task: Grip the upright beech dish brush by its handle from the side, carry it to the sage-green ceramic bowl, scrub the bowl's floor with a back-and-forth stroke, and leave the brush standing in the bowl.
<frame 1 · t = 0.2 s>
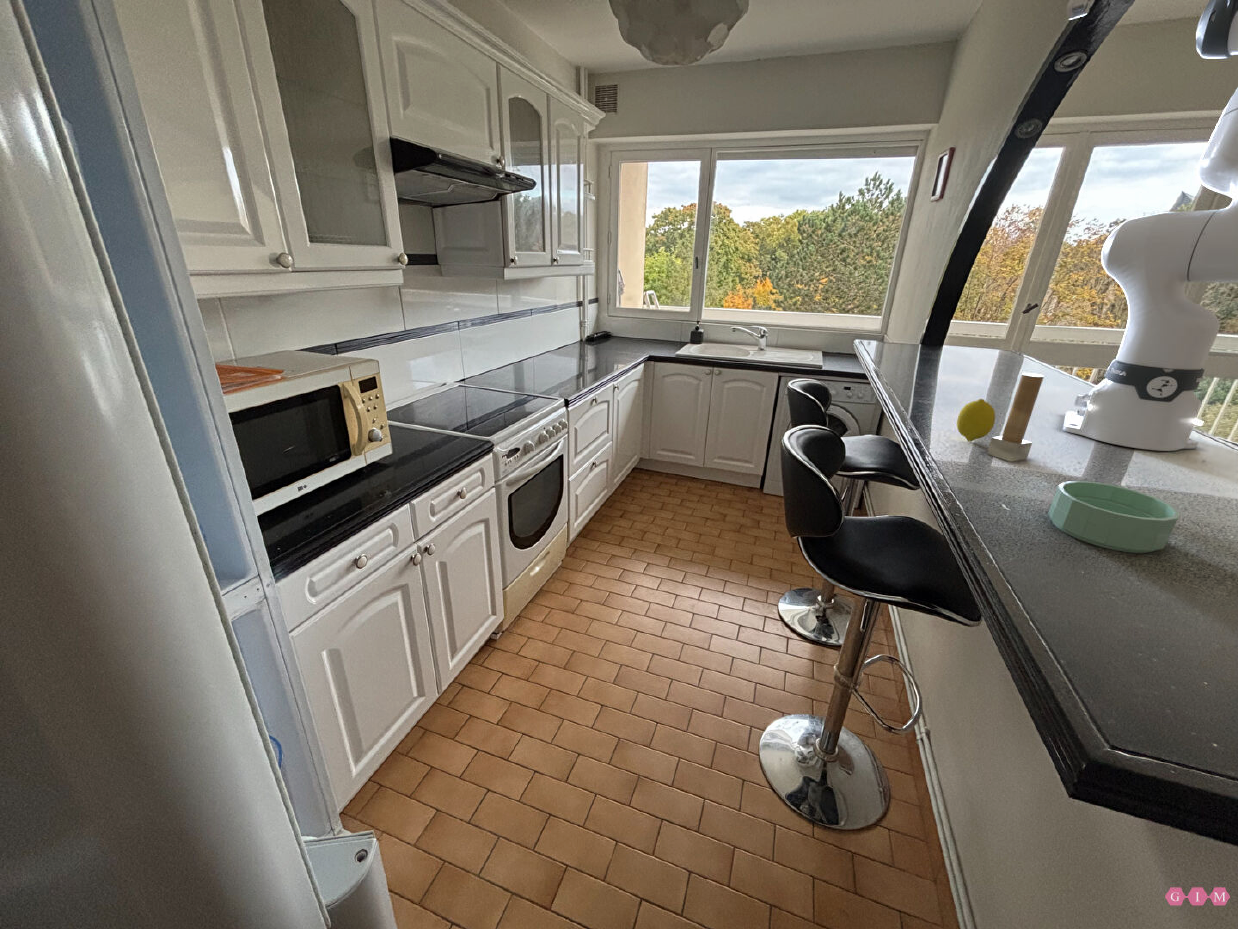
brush: (1006, 456, 86), on the countertop
bowl: (1102, 532, 62), on the countertop
lemon: (969, 442, 93), on the countertop
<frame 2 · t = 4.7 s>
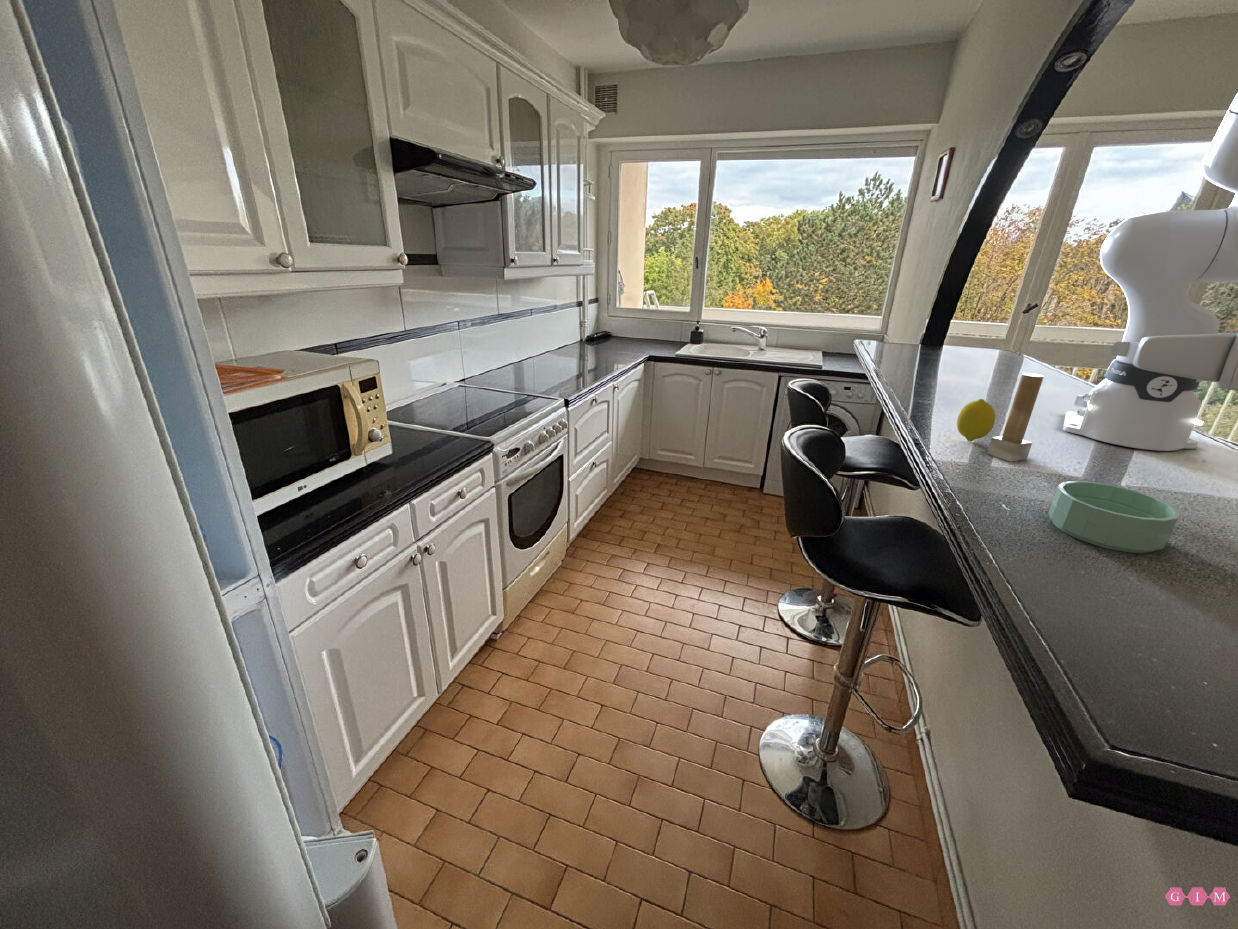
hand: (1140, 347, 68), 20 cm above the countertop, tool horizontal, fingers open, 8 cm apart
nothing on the countertop moved.
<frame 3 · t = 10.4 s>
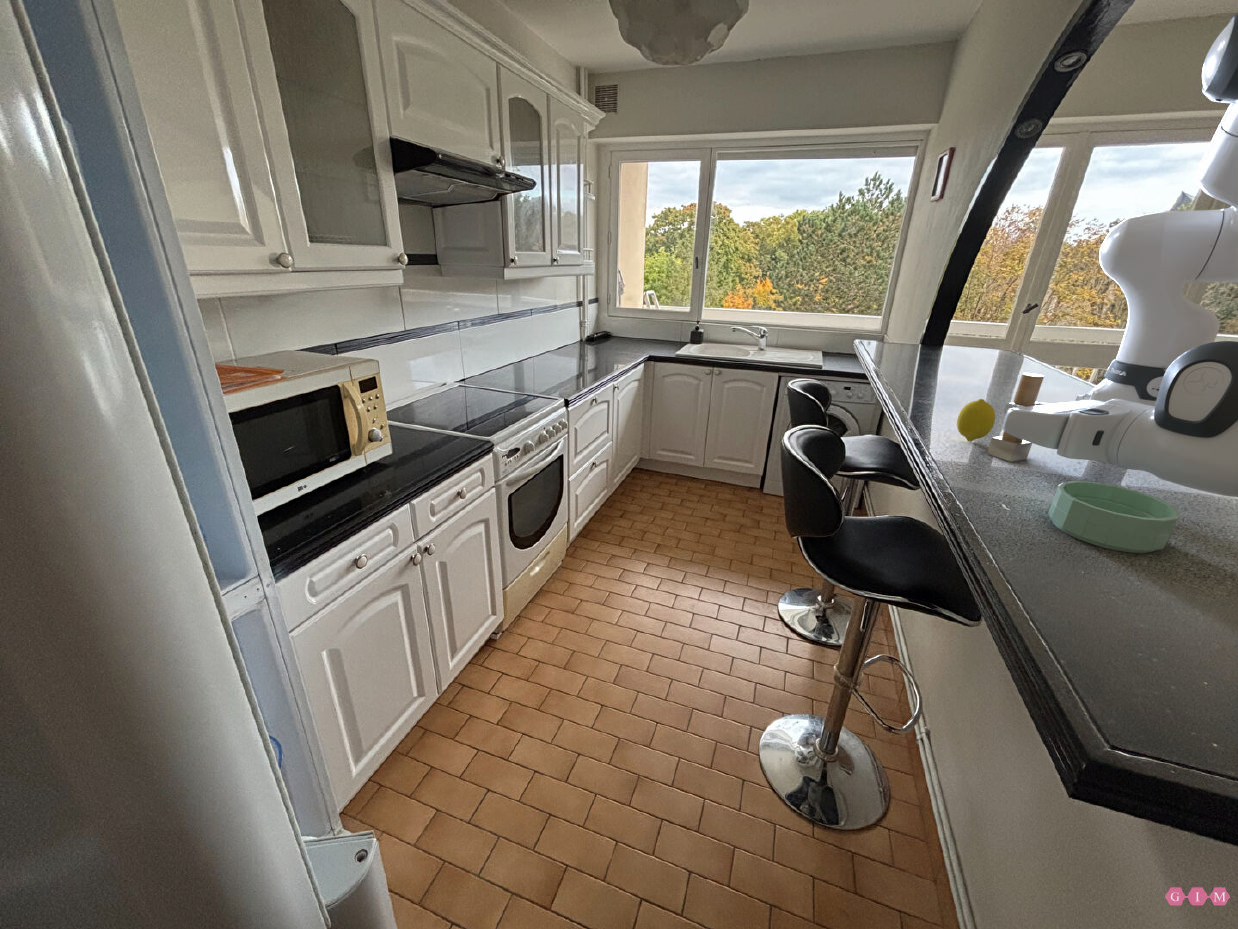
hand: (1016, 406, 84), 9 cm above the countertop, tool horizontal, fingers closed on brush, 3 cm apart
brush: (1006, 456, 86), on the countertop, touching gripper
everything else where it was.
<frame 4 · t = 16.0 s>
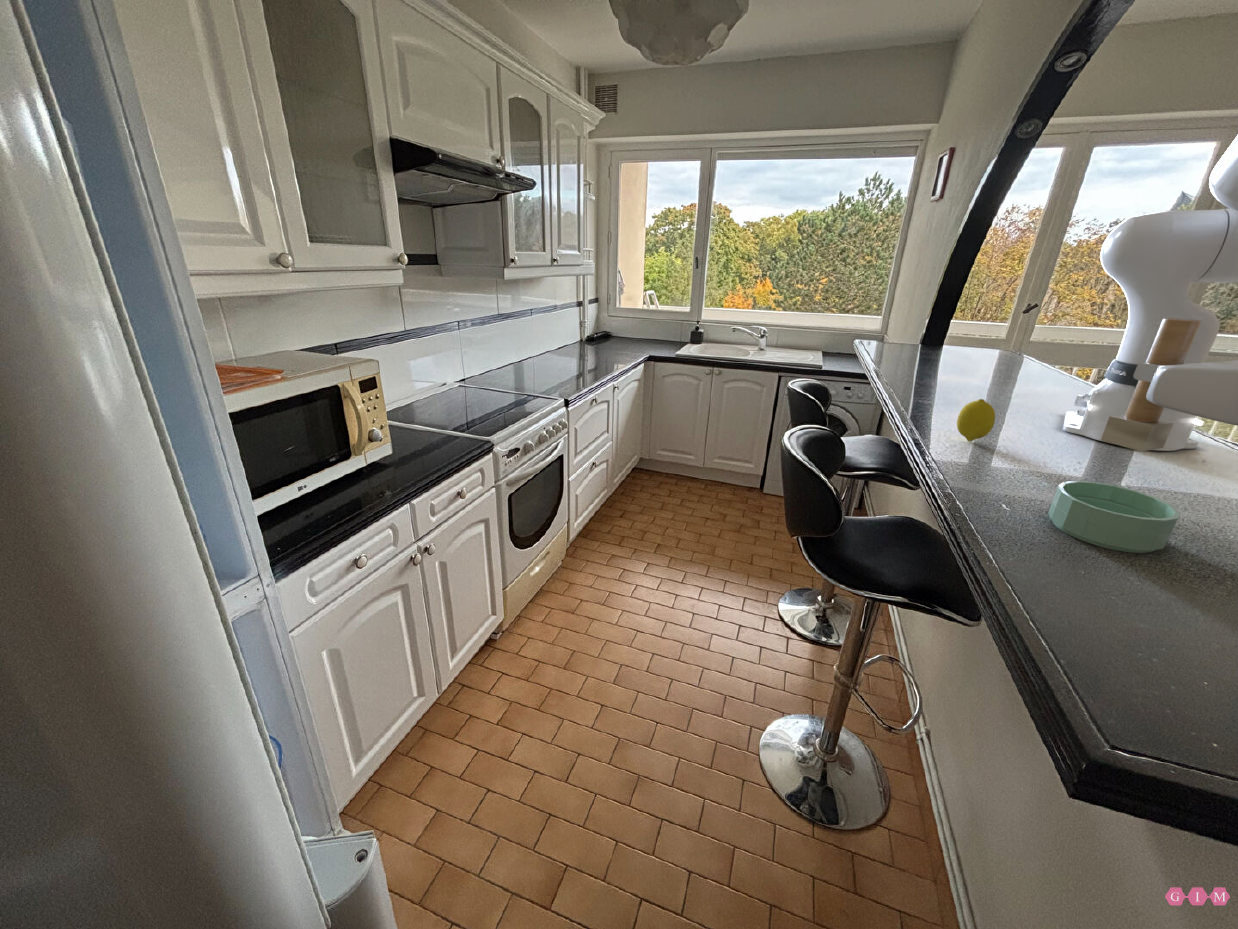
hand: (1150, 369, 56), 20 cm above the countertop, tool horizontal, fingers closed on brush, 3 cm apart
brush: (1130, 444, 59), point 11 cm above the countertop, touching gripper
everything else where it was.
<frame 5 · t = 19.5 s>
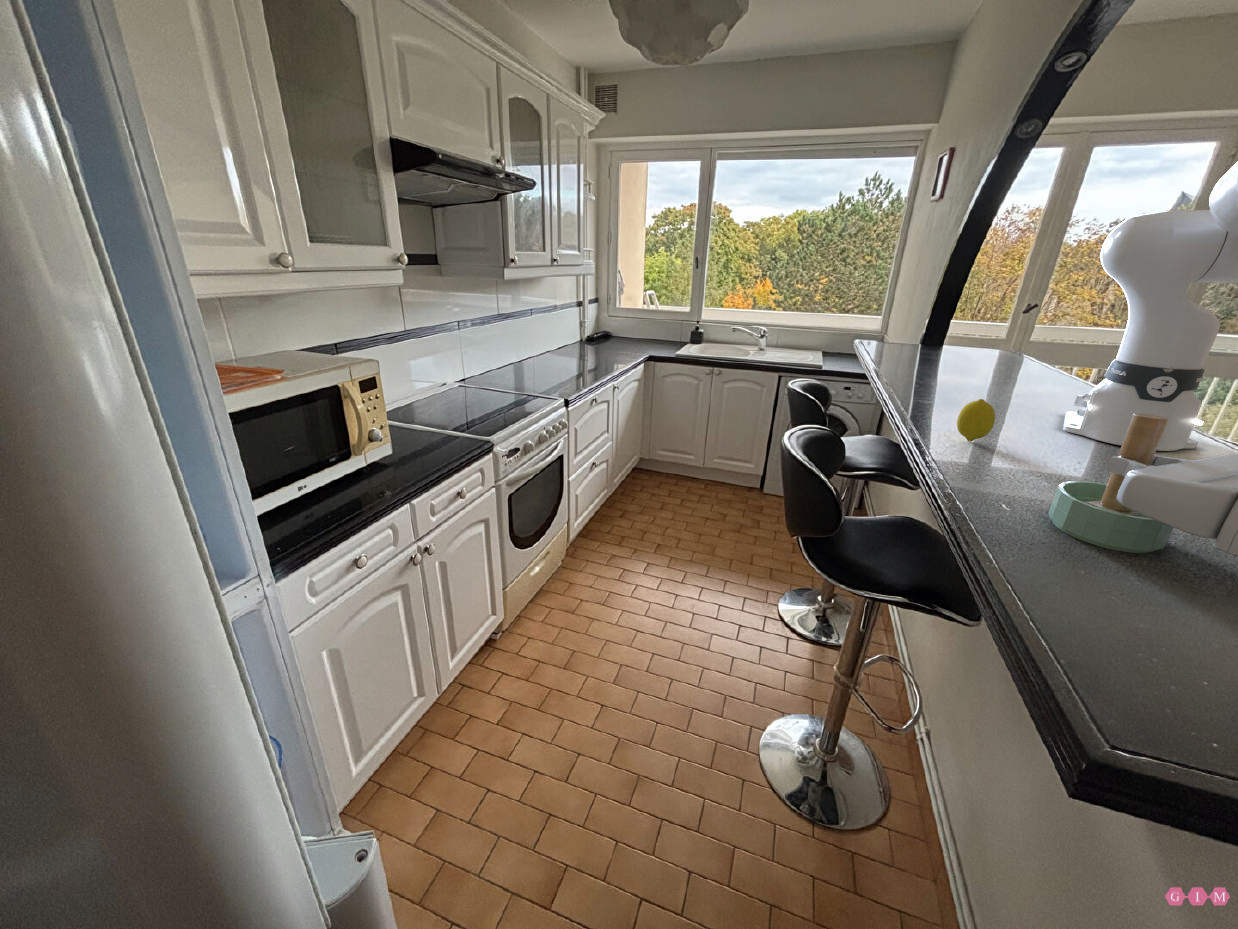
hand: (1122, 460, 59), 9 cm above the countertop, tool horizontal, fingers closed on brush, 3 cm apart
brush: (1106, 530, 61), point 1 cm above the countertop, touching bowl, gripper
everything else where it was.
when the fingers open (9 cm above the countertop, at t = 21.9 s): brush stays where it is, resting on bowl.
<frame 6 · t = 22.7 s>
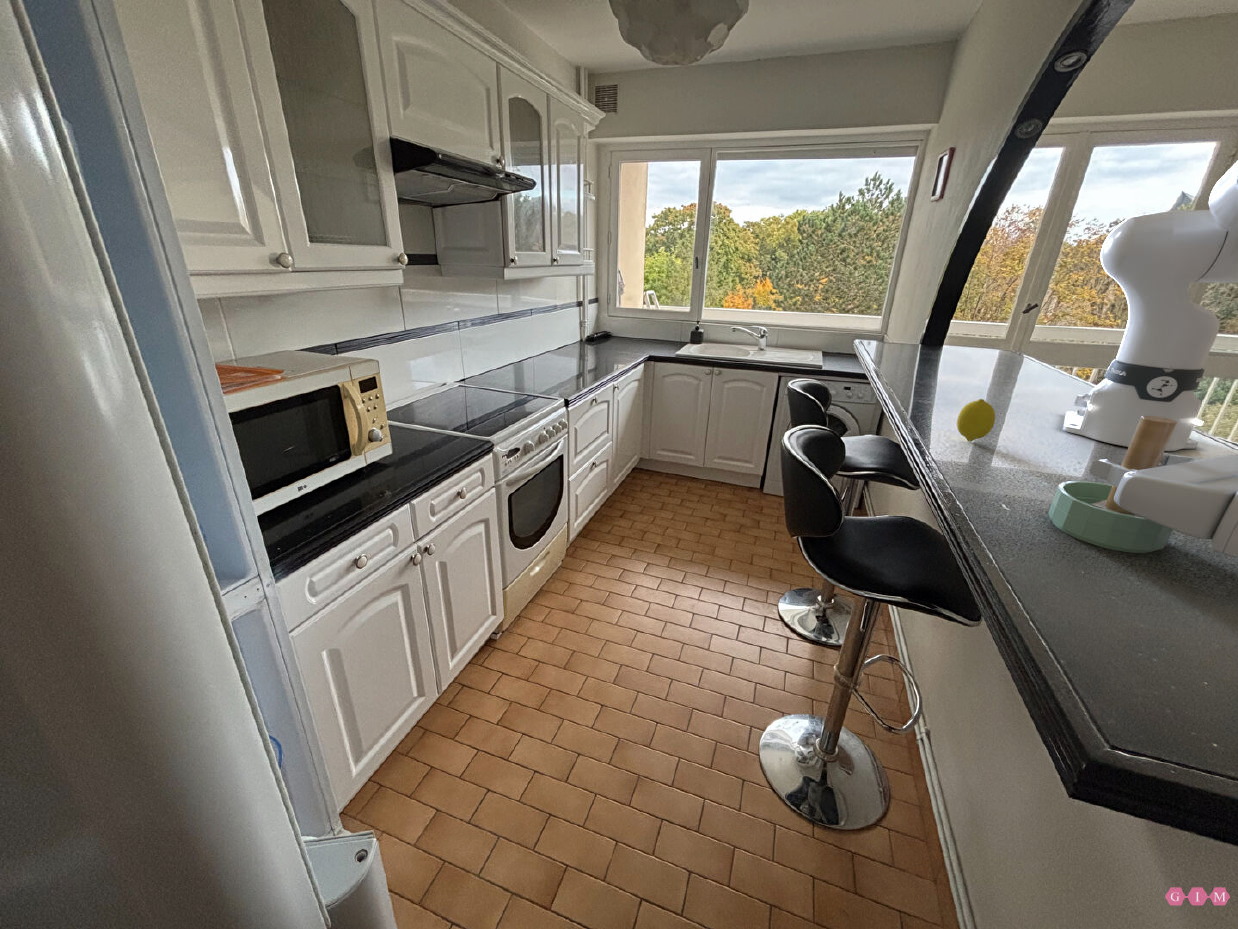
hand: (1121, 461, 59), 9 cm above the countertop, tool horizontal, fingers open, 8 cm apart
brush: (1111, 530, 61), point 1 cm above the countertop, touching bowl
everything else where it was.
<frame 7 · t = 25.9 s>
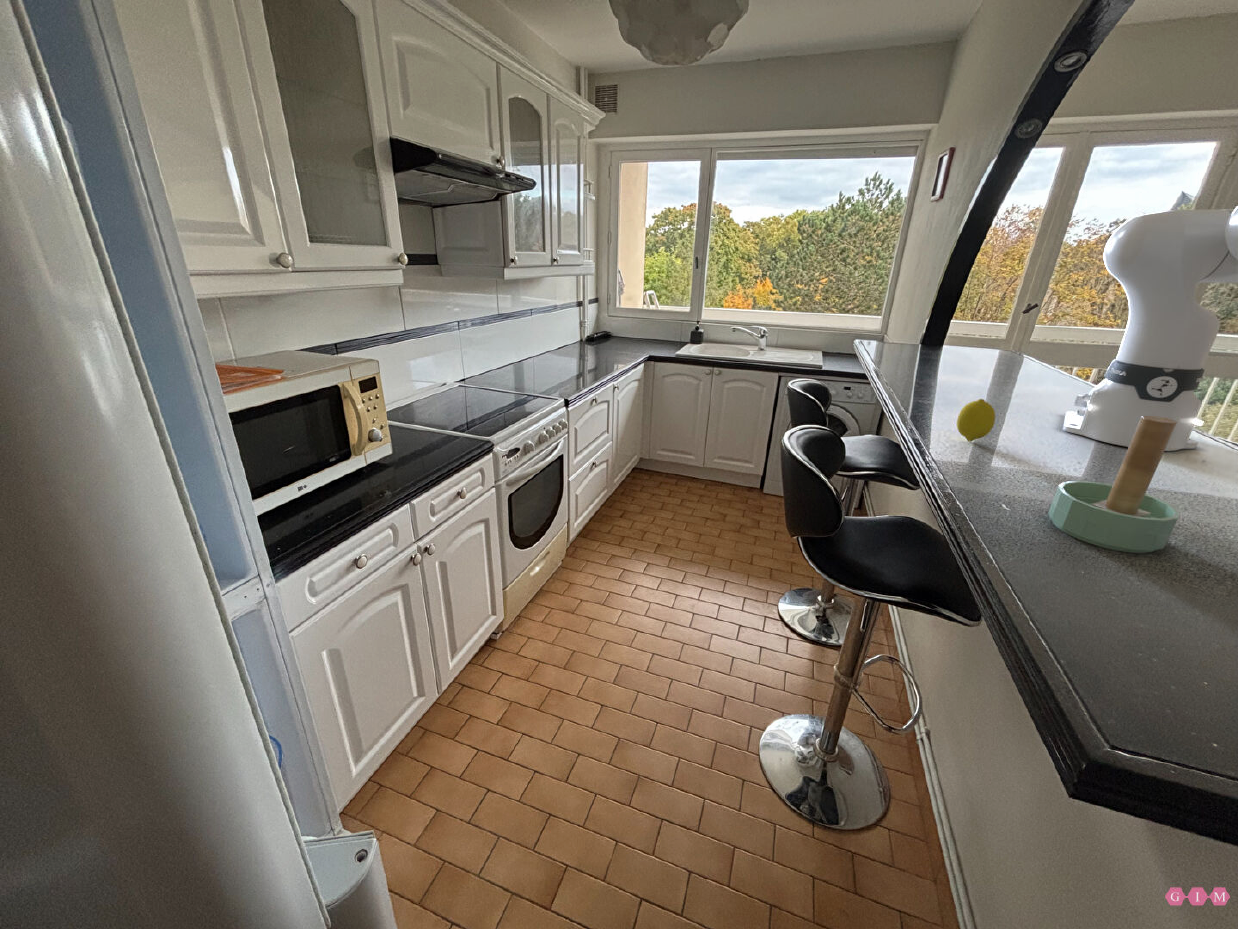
nothing on the countertop moved.
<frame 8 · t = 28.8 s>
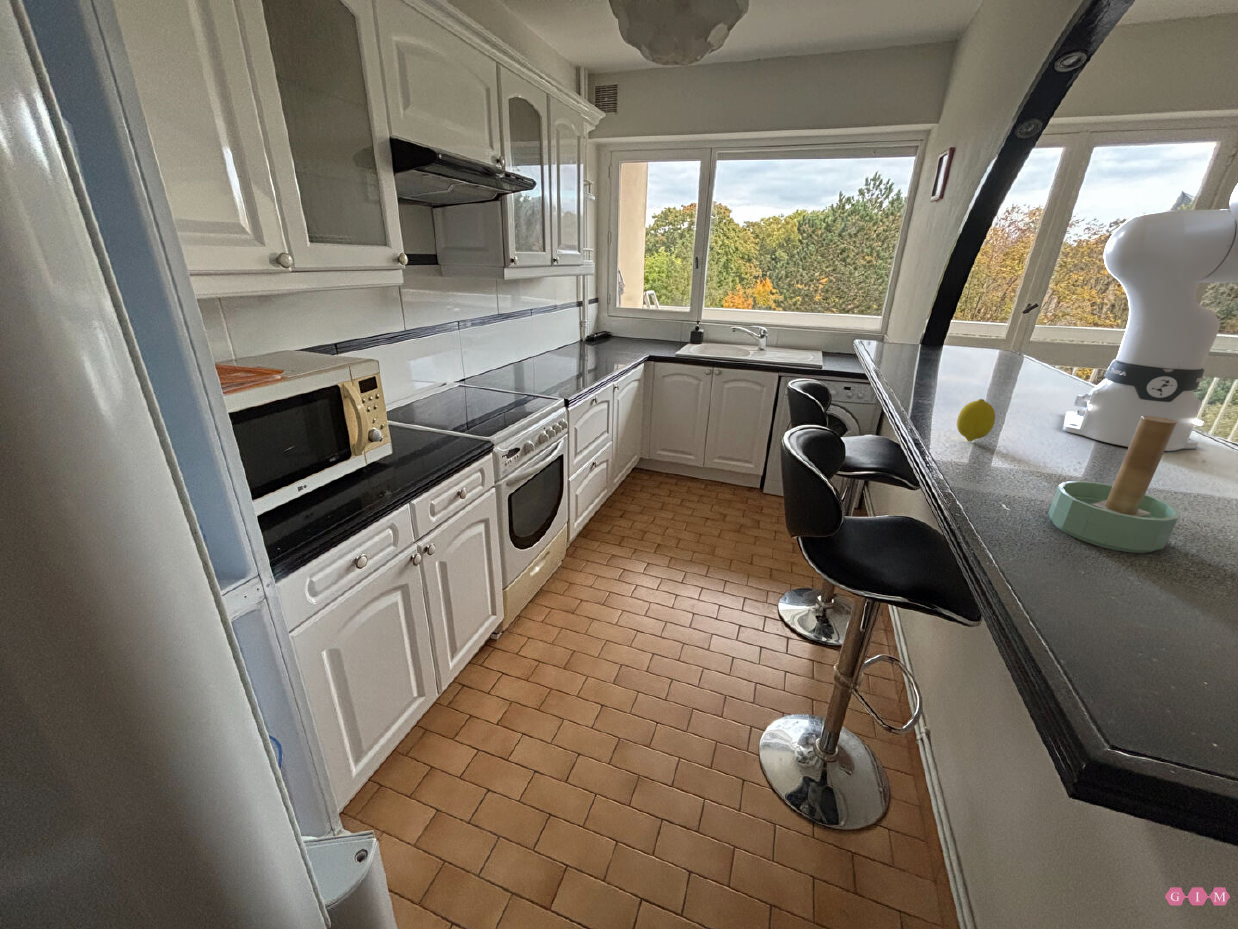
nothing on the countertop moved.
at the end: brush 0.8 cm off-centre in the bowl, point 0.6 cm above the bowl's base; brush tilted 0°; the gripper is holding nothing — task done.
